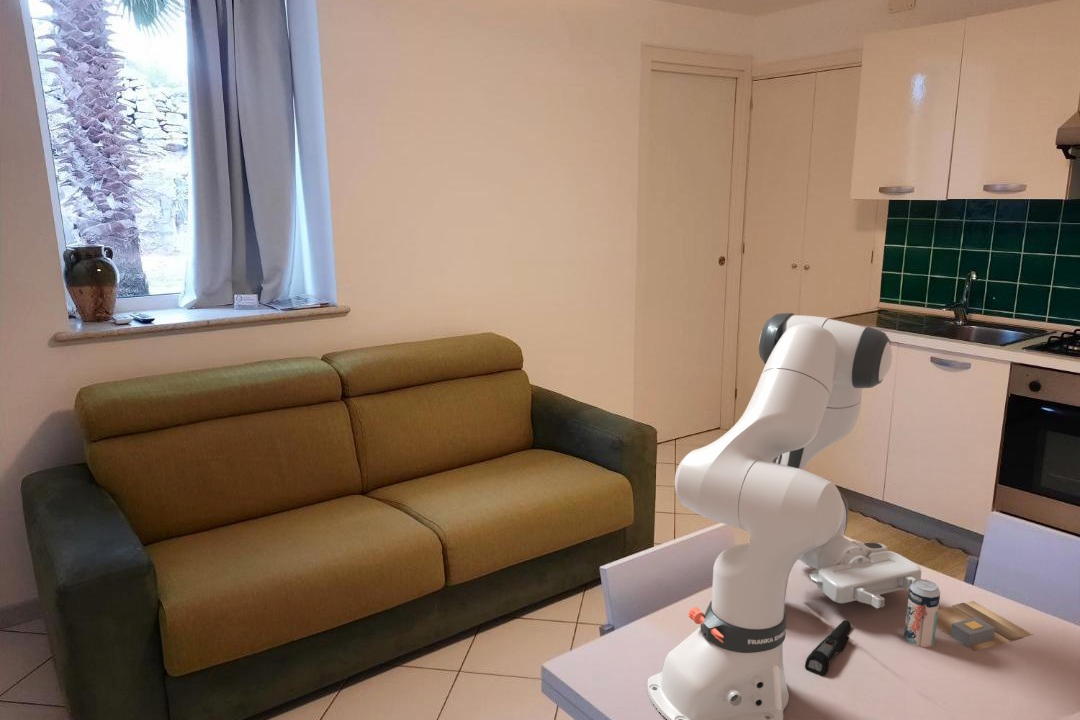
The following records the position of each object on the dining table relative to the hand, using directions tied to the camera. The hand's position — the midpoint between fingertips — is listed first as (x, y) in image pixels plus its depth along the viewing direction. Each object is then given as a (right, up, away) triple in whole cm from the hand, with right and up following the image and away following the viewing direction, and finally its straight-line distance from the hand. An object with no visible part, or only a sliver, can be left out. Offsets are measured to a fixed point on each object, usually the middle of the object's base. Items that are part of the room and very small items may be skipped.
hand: (902, 599), depth 136 cm
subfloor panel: (+14, -7, +2) cm, 15 cm away
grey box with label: (+11, -6, -2) cm, 13 cm away
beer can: (+2, -8, -2) cm, 8 cm away
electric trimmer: (-15, -9, -4) cm, 17 cm away
